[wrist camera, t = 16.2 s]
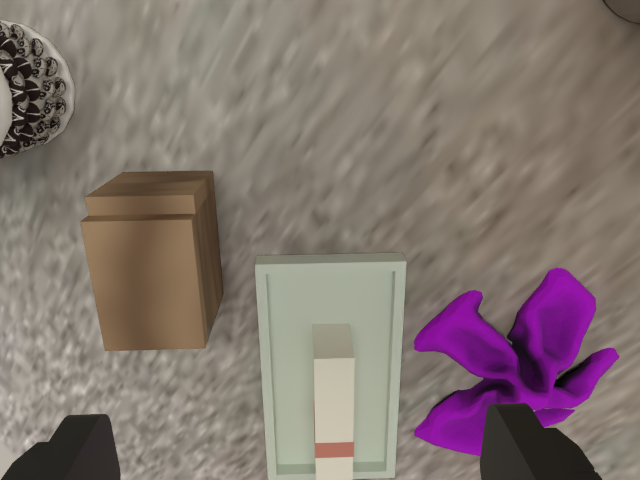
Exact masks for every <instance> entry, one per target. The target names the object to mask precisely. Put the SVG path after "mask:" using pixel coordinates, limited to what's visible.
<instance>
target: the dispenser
mask: <svg viewBox="0 0 640 480" xmlns="http://www.w3.org/2000/svg"><path fill="white" fill-rule="evenodd" d="M85 200H86V205H87V211H88V216H87V217H86V218H85V219H83V220H82V221H81V222H80V223H81V228H82V234H83V239H84V244H85V249H86V254H87V260H88V265H89V270H90V275H91V281H92V286H93V291H94V296H95V302H96V307H97V312H98V317H99V323H100V328H101V333H102V338H103V344H104V349H105V351H123V350H161V349H200V348H205V347H206V344H207V341H208V338H209V335H210V332H211V329H212V326H213V324H214V321H215V318H216V315H217V312H218V309H219V306H220V303H221V300H222V297H223V283H222V272H221V261H220V249H219V238H218V226H217V215H216V204H215V192H214V181H213V171H171V172H123V173H121V174H120V175H118V176H117V177H115V178H114V179H112V180H110V181H109V182H107V183H106V184H104V185H103V186H101V187H100V188H98V189H97V190H95V191H94V192H92V193H91V194H89V195H87V196H86V197H85Z"/></svg>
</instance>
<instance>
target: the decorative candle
mask: <svg viewBox="0 0 640 480" xmlns="http://www.w3.org/2000/svg"><path fill="white" fill-rule="evenodd" d="M74 100H75V85H74V83H73V80H72V77H71V74H70V71H69V68H68V66H67V63H66V61H65V60H64V59H63V57H62V56H61V55H60V54H59V52H58V51H57V50H56V49H55V47H54V46H53V45H52V43H51V42H50V41H49V40H48V39H46V38H45V37H43V36H41V35H40V34H38V33H37V32H35V31H34V30H32V29H30V28H29V27H27V26H26V25H22V24H17V23H12V22H8V21H3V20H0V159H1V158H3V157H4V156H13V155H16V154H17V153H19V152H24V151H27V150H29V149H31V148H33V147H34V146H40V145H42V144H46V143H48V142H49V141H51V140H52V139H53V138H55V137H56V136H57V135H59V134H60V133H61V132H63V131H64V130H65V128H66V126H67V124H68V122H69V120H70V118H71V116H72V114H73V112H74Z"/></svg>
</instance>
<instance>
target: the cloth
mask: <svg viewBox="0 0 640 480" xmlns="http://www.w3.org/2000/svg"><path fill="white" fill-rule="evenodd" d="M482 298H483V296H482V293H481V292H479V291H476V290H473V291H468V292H467V293H464V294H462V295H461V296H459V297H458V298H456V299H455V300H454V301H453V302H452V303H451V304H450V305H449V306H448V307H447V308H446V309H445V310H444V312H443V313H441V314H439V315H437V316H436V317H435V318H434V319H433V320H432V321H431V322H430V323H429V324H427V325H426V326H425V327H424V328H423V329H422V330H421V331H420V333H419V334H418V335H417V337H416V339H415V341H414V344H415V347H414V349H415V350H417V351H419V352H426V351H436V352H442V353H445V354H447V355H448V356H450V357H451V358H452V359H454V360H455V361H456V362H458V363H459V364H460V365H462V366H463V367H464V368H465V369H467V370H468V371H469V372H470V373H472V374H474V375H476V376H479V377H483V380H482V381H481V382H479V383H478V384H477V385H475V386H474V387H473V388H471V389H468V390H457V391H455V392H453V394H452V395H451V396H449V397H448V398H447V399H446V400H445V401H444V402H443V403H441V404H439V405H437V406H435V407H434V408H433V409H432V410H431V412H430V413H429V415H428V416H427V418H426V419H425V420H424V421H423V422H422V423H421V424H420V425H419V426H418V427H417V428H416V430H415V431H414V433H415V436H417V437H419V438H421V439H423V440H425V441H427V442H429V443H431V444H433V445H435V446H439V447H443V448H447V449H451V450H454V451H458V452H462V453H467V454H472V455H477V456H481V449H482V441H483V434H484V426H485V419H486V412H487V408H488V406H489V405H490V404H507V403H526V404H528V405H529V406H530V407H531V409H533V410H537V411H535V412H534V413H535V415H536V416H537V418H538V419H539V421H540V423H541V424H542V426H543V427H546V426H549V425H552V424H555V423H558V422H561V421H564V420H565V419H566V418H567V417H568V416H569V415H571V414H572V413H573V412H574V411H575V410H569V409H561V408H573V407H576V406H578V405H579V404H581V403H582V402H584V401H585V400H587V399H588V398H589V397H590V395H591V393H592V391H593V389H594V387H595V385H596V384H597V382H598V380H599V378H600V377H601V376H602V375H603V374H604V373H605V372H606V371H607V370H608V369H609V368H610V367H611V366H612V365H613V363H614V362H615V361H616V360H617V359H618V358H619V355H618V354H617V352H616V350H615V349H614V348H606V349H602V350H600V351H598V352H596V353H593V354H592V355H590V356H589V357H588V358H587V359H586V360H585V362H584V363H583V364H582V366H581V367H580V368H578V369H577V370H575V371H574V372H572V373H571V374H569V375H567V376H566V377H564V378H560V379H559V380H557V381H556V382H555V380H556V377H557V375H559V374H560V373H561V372H563V371H564V370H566V369H567V368H568V367H570V366H571V365H572V363H573V361H574V360H575V358H576V356H577V354H578V352H579V349H580V346H581V343H582V340H583V337H584V335H585V333H586V331H587V329H588V327H589V325H590V323H591V321H592V319H593V316H594V313H595V311H596V300H595V297H594V296H593V295H592V294H591V293H590V292H589V291H588V290H587V289H586V288H585V287H584V286H583V285H582V284H581V283H580V282H578V281H577V280H576V279H575V278H574V277H573V276H572V275H571V274H570V273H569V272H568V271H566V270H565V269H562V268H555V269H552V270H550V271H548V274H547V275H546V277H545V278H544V280H543V281H542V283H541V285H540V286H539V287H538V288H537V290H536V291H535V292H534V293H533V294H532V295H531V296H530V297H529V299H528V300H527V301H526V302H525V303H524V304H523V305H522V307H521V308H520V310H519V311H518V313H517V317H516V320H515V324H514V327H513V329H512V331H511V332H510V334H509V335H508V336H507V338H508V339H509V340H510V341H512V346H511V344H510V343H509V342H508V341H507V340H506V339H505V338H504V337H503V336H502V335H500V334H499V333H498V332H497V331H496V330H495V329H494V328H492V327H491V326H490V325H489V324H488V323H487V322H485V321H484V320H483V319H482V317H481V315H480V314H479V313H478V308H479V305H480V303H481V301H482ZM543 408H552V409H543Z"/></svg>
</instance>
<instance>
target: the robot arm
mask: <svg viewBox="0 0 640 480" xmlns="http://www.w3.org/2000/svg"><path fill="white" fill-rule="evenodd" d="M605 2H606V3H607V5H608V6H609V7H610V8H611V9H612V10H613V11H614V12H615V13H616V14H617V15H619V16H620V17H622V18H624V19H626V20H628V21H630V22H635V23H639V24H640V0H605ZM480 472H481V479H482V480H602V478H601V477H600V476H599V474H598V473H597V472H595V471H594V467H593V466H592V464H591V463H590V461H589V460H588V459H587V457H586V456H585V454H584V453H583V451H582V450H581V449H580V447H579V446H578V445H577V444H575V443H574V442H573V441H572V440H570V439H569V438H568V437H567V436H565V435H564V434H563V433H562V432H560V431H559V430H558V429H557V428H544V427H543V426H542V424H541V423H540V421H539V419H538V418H537V416H536V415H535V413H534V412H533V410H532V409H531V407H530V406H529V405H528V404H526V403H507V404H490V405H489V406H488V408H487V412H486V419H485V426H484V434H483V441H482V449H481V457H480ZM1 480H120V467H119V462H118V457H117V452H116V447H115V442H114V437H113V432H112V426H111V422H110V419H109V417H108V415H106V414H90V415H68V416H67V417H65V418H64V420H63V421H62V422H61V424H60V425H59V427H58V428H57V430H56V431H55V433H54V434H53V436H52V437H51V439H50V440H49V442H38V443H36V444H35V445H34V446H33V447H31V448H30V449H29V450H28V451H27V452H25V453H24V454H23V455H22V456H20V457H19V458H18V459H17V460H16V461H14V462H13V463H12V465H11V466H10V468H9V469H8V470H7V472H6V473H5V475H4V476H3V477H2V479H1Z"/></svg>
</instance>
